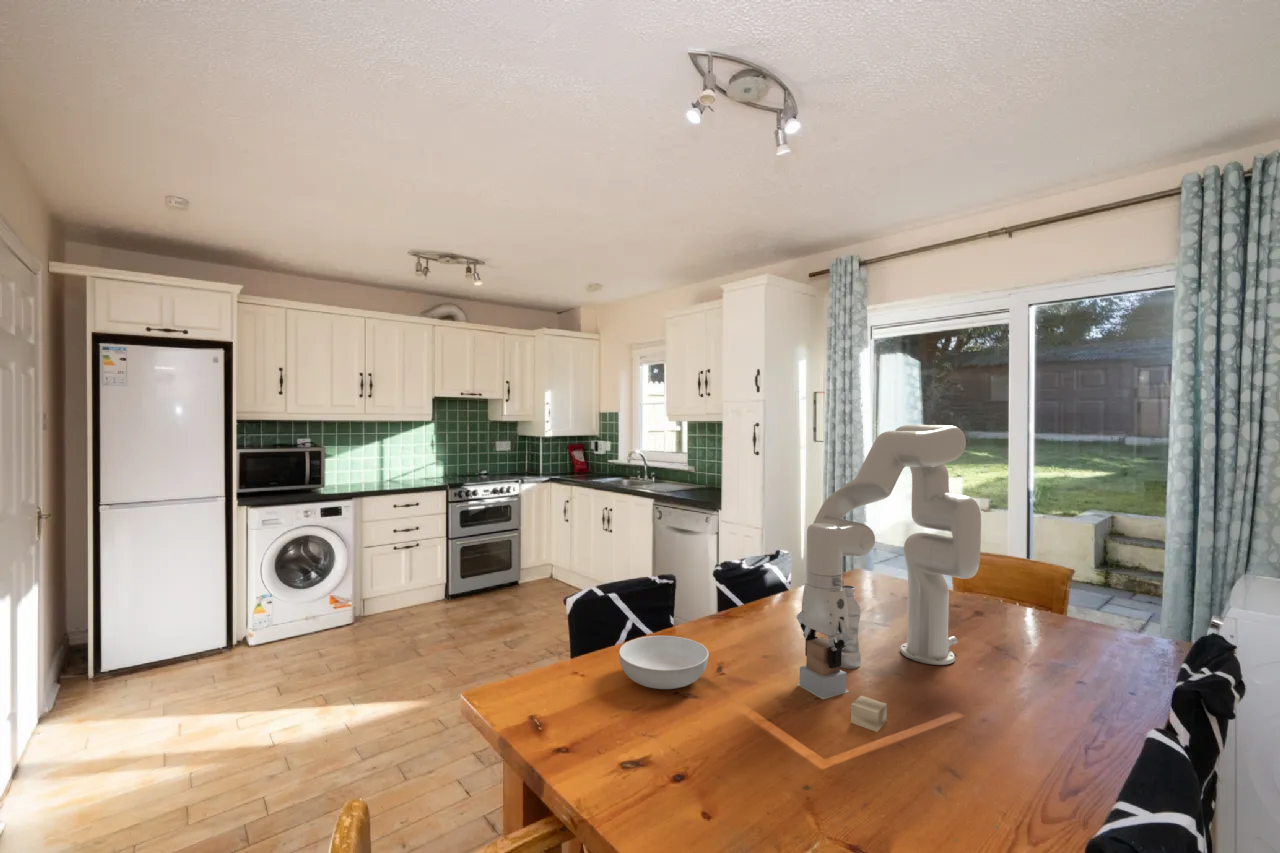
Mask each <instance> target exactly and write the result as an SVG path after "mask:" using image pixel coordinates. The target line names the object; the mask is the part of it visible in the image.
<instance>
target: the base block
mask: <svg viewBox="0 0 1280 853" xmlns="http://www.w3.org/2000/svg"><path fill="white" fill-rule="evenodd" d="M847 675H848V674H847V672H846V671H844V670H842V669H840V672H837V673H834V674H830V675H826V676H822V675H820V674H818V673H816V672H814V671H812V670H810V669H808V668H806V665H805V664H804V665H801V666H799V683H800V685H801V686H803V687H805V688H807V689H808V690H810V691H812V692H814V693H815V694H817V695H819V696H821V697H822V698H824V697H828V696H831V695H834V694H838V693H841V692H844V691H846V690H847V682H848V680H847V677H848V676H847Z"/></svg>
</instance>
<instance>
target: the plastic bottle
mask: <svg viewBox="0 0 1280 853" xmlns="http://www.w3.org/2000/svg"><path fill="white" fill-rule="evenodd" d="M842 589H844V590H845V594H846V599H847V605H848V619H849V631H850V632H851V634H852V636H853V640H852V641H850V642H849V643H848V644H847V645H846V646H845V647H844V649H842V662H841V666H840V668H842V669H843V668H844V669H848V670H849V669H858V668H860V666H861V661H862V657H861V651H860V644H859V629H860V628H859V627H860V626H859V625H860V618H861V613H862V611H861V610H862V609H861V606H860V604H859V602H858V600H856V598H855V596H856V588H855V586H853V585H850V584H849V585H848V584H844V586H843V587H842ZM841 636H842V638H843V635H842V634H841ZM834 639H835V642H836V643H837V639H836V637H835V638H834Z"/></svg>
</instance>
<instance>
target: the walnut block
mask: <svg viewBox="0 0 1280 853" xmlns="http://www.w3.org/2000/svg"><path fill="white" fill-rule="evenodd" d="M829 649H831V645H830V642H829V638H826V637H824V636H822V637H818V638H817V639H812V640H808V641H807V656H806V662H805V663H806V668H808V669H810V670H812V671H814V672H816V673H818V674H820V675H822V676H826V675H830V674H834V673H837V672H840V670H841V667H836V668H833V669H831V668H829Z"/></svg>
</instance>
